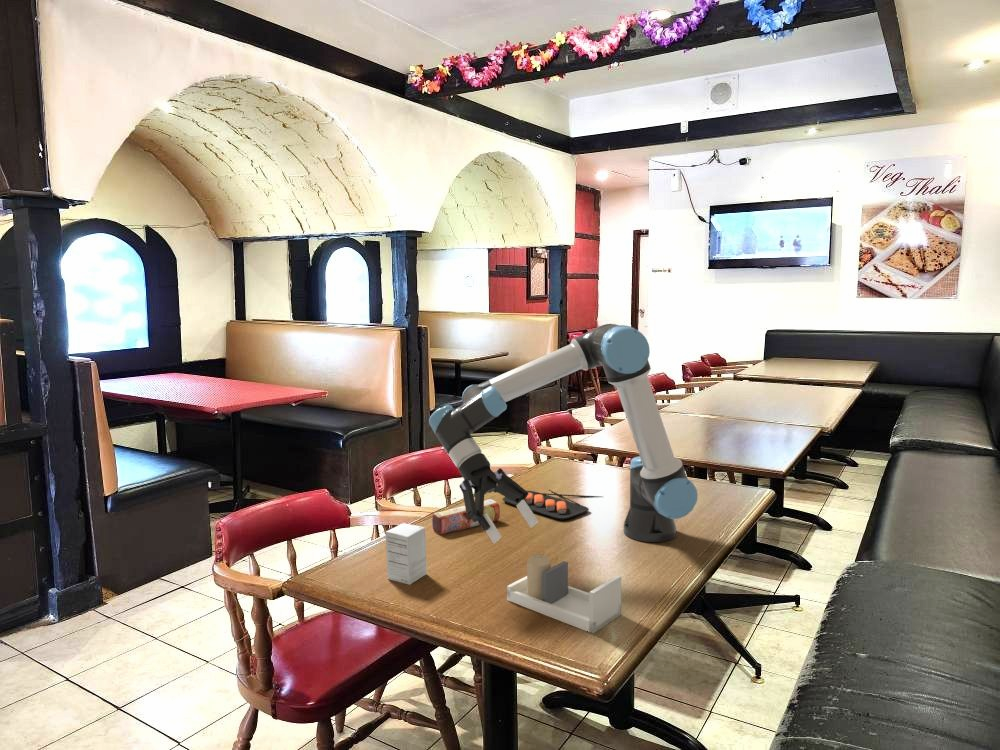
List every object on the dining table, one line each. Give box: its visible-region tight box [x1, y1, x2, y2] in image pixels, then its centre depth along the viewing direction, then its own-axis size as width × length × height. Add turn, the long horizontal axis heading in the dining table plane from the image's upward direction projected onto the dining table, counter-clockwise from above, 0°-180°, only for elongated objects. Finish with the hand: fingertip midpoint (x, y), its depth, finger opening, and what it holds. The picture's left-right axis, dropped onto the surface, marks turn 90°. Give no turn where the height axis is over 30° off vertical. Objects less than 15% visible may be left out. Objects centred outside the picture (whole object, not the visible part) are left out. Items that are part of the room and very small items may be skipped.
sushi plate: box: [502, 489, 603, 520], centre depth 231 cm, size 29×30×4 cm
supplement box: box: [385, 522, 428, 585], centre depth 172 cm, size 7×7×13 cm
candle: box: [526, 553, 552, 600], centre depth 158 cm, size 6×6×10 cm
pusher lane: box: [506, 574, 622, 634], centre depth 155 cm, size 11×24×9 cm, turn 48°
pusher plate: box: [542, 560, 569, 604], centre depth 156 cm, size 8×1×8 cm, turn 138°
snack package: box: [431, 498, 501, 535], centre depth 208 cm, size 21×7×7 cm, turn 123°
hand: (516, 532), depth 162 cm, fingers open, 13 cm apart
